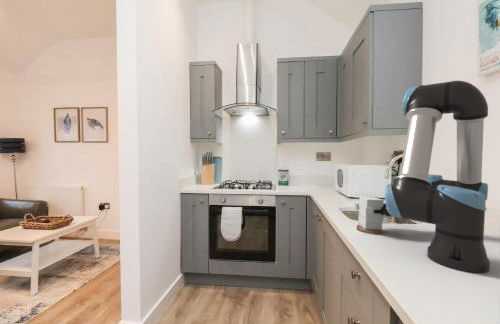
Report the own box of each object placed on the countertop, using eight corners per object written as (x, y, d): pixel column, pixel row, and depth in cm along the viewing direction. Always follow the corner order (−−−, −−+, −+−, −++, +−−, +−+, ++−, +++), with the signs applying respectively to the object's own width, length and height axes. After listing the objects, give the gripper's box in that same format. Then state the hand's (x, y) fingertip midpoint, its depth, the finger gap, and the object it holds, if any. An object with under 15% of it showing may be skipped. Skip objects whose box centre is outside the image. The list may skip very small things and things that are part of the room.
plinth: (387, 234, 106) (387, 230, 106) (364, 233, 105) (364, 230, 105) (373, 227, 116) (373, 223, 116) (352, 226, 115) (352, 223, 115)
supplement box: (382, 229, 106) (384, 200, 106) (364, 229, 106) (366, 199, 106) (373, 224, 114) (375, 197, 113) (357, 224, 114) (359, 196, 113)
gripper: (427, 224, 101) (373, 223, 99) (393, 212, 122) (347, 211, 120) (428, 205, 101) (374, 204, 99) (394, 196, 122) (348, 195, 120)
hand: (359, 208), depth 109 cm, fingers open, 8 cm apart
